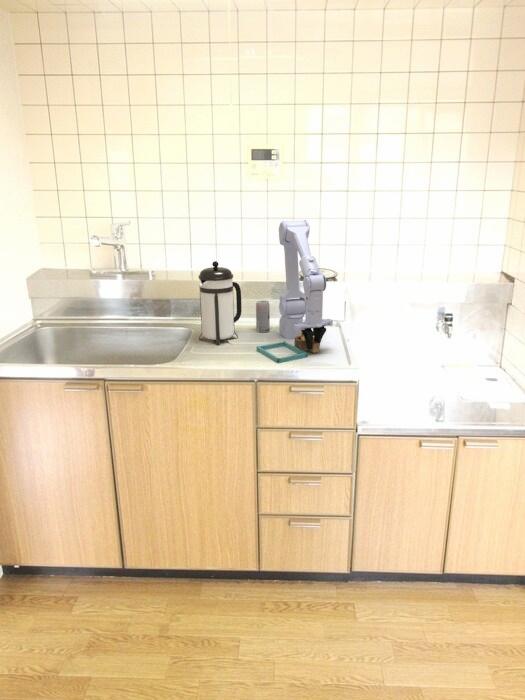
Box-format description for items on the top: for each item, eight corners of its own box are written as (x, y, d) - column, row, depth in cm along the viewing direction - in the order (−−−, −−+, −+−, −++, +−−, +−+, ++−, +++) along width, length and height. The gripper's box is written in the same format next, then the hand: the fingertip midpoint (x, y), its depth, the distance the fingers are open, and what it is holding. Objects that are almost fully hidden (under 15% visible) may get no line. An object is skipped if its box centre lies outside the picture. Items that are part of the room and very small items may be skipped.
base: (289, 349, 185) (289, 346, 185) (307, 345, 189) (307, 343, 188) (301, 355, 178) (301, 353, 178) (320, 352, 182) (320, 349, 182)
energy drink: (270, 329, 210) (269, 300, 206) (269, 333, 205) (268, 303, 201) (257, 329, 210) (256, 300, 206) (255, 332, 205) (255, 303, 201)
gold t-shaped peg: (298, 347, 184) (298, 331, 182) (306, 346, 185) (306, 330, 183) (302, 349, 182) (302, 333, 180) (310, 348, 183) (310, 332, 181)
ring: (291, 345, 184) (290, 337, 183) (307, 342, 188) (307, 334, 187) (307, 353, 175) (307, 345, 174) (324, 350, 178) (324, 342, 177)
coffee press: (239, 345, 190) (237, 264, 180) (196, 345, 191) (191, 264, 181) (242, 331, 207) (240, 256, 197) (202, 332, 207) (198, 257, 197)
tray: (256, 353, 182) (256, 346, 181) (284, 347, 187) (284, 341, 186) (277, 366, 169) (277, 359, 169) (307, 359, 175) (307, 353, 174)
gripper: (302, 315, 167) (301, 354, 172) (338, 309, 174) (337, 347, 178) (290, 310, 173) (290, 348, 177) (326, 305, 180) (325, 342, 184)
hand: (313, 347), depth 178 cm, fingers closed on ring, 2 cm apart
